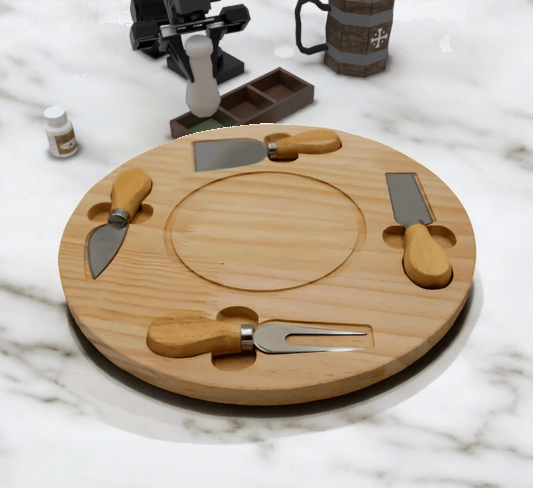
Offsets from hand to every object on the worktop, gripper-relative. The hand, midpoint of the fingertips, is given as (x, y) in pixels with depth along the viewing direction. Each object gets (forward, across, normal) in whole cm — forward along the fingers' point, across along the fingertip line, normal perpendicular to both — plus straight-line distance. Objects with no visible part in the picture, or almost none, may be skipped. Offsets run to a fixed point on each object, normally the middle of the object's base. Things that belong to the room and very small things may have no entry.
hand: (203, 80), depth 103 cm
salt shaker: (+4, 0, +6) cm, 7 cm away
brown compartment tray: (+6, +8, +12) cm, 15 cm away
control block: (-8, +7, +25) cm, 27 cm away
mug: (-3, +33, +20) cm, 39 cm away
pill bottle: (+4, -23, +14) cm, 27 cm away
